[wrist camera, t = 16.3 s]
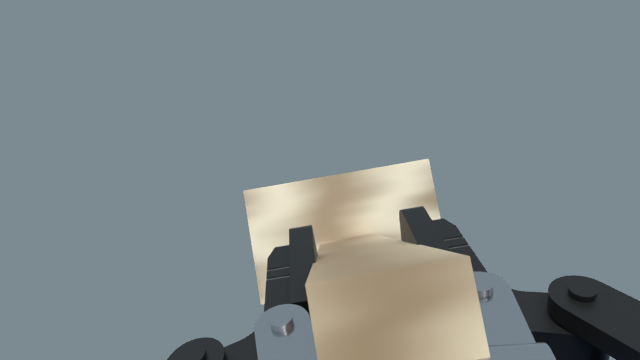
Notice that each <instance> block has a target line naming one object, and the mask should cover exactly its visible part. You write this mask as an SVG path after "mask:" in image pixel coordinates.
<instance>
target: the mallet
mask: <svg viewBox="0 0 640 360" xmlns="http://www.w3.org/2000/svg"><path fill="white" fill-rule="evenodd" d="M244 197H245V204H246V211H247V217H248V224H249V230H250V236H251V243H252V249H253V256H254V262H255V268H256V275H257V282H258V288H259V294H260V301H261V304H265V290H266V281H267V279H266V275H267V259H268V257H269V255H270V254H271V252H272V251H273V249H274V248H275V247H279V246H285V245H289V229H291V228H297V227H303V226H308V225H312V227H313V232H314V237H315V243H316V248H317V253H318V257H317V260H316V263H313V265H312V268H311V270H310V273H309V276H308V278H307V281H306V283H305V287H306V293H307V299H308V305H309V311H310V317H311V323H312V329H313V335H314V342H315V348H316V354H317V360H477V359H483V358H488V357H490V353H489V348H488V343H487V338H486V333H485V328H484V323H483V318H482V313H481V308H480V303H479V298H478V293H477V288H476V284H475V279H474V274H473V269H472V264H471V259H470V256H467V255H463V254H459V253H454V252H450V251H446V250H441V249H437V248H433V247H428V246H424V245H416V244H412V243H408V242H404V241H401V231H400V220H399V211H400V210H402V209H408V208H414V207H419V206H424V208H425V209H426V211H427V213H428V214H429V216H430V218H431V219H432V220H437V219H440V214H439V209H438V204H437V199H436V194H435V189H434V183H433V179H432V173H431V168H430V163H429V159H425V160H419V161H413V162H408V163H402V164H396V165H390V166H384V167H378V168H373V169H367V170H362V171H355V172H349V173H344V174H338V175H332V176H326V177H321V178H315V179H310V180H303V181H297V182H292V183H286V184H280V185H275V186H269V187H263V188H258V189H251V190H245V191H244Z"/></svg>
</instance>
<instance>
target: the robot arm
mask: <svg viewBox="0 0 640 360" xmlns="http://www.w3.org/2000/svg"><path fill="white" fill-rule="evenodd" d="M399 220H400V231H401V241H404V242H408V243H412V244H416V245H424V246H428V247H433V248H437V249H441V250H446V251H450V252H454V253H459V254H463V255H467V256H470V259H471V264H472V269H473V274H474V279H475V284H476V288H477V293H478V298H479V303H480V308H481V313H482V318H483V323H484V328H485V333H486V338H487V343H488V348H489V353H490V357H488V358H483V359H477V360H609V357H610V356H611V357H613V358H615V359H616V360H640V301H638V300H636V299H634V298H632V297H630V296H628V295H626V294H624V293H622V292H620V291H618V290H616V289H614V288H612V287H610V286H608V285H606V284H604V283H602V282H599V281H597V280H595V279H592V278H588V277H583V276H564V277H560V278H558V279H555V280H554V281H553V282H551V284H550V285H549V288H548V293H541V292H524V291H517V290H513V289H511V288H510V286H509V284H508V283H507V282H506V281H505V280H503V279H502V278H501V277H499V276H497V275H495V274H491V273H488V272H487V271H486V270H485V268H484V267H483V265H482V264H481V262H480V261H479V259H478V258H477V256H476V255H475V253H474V252H473V251H472V249H471V248H470V246H468V243H467V242H466V240H465V239H464V238H463V236H462V234H461V233H460V231H459V230H458V229H457V227H456V226H455V225H453V224H452V223H450V222H448V221H447V220H445V219H437V220H432V219H431V218H430V216H429V214H428V213H427V211H426V209H425V208H424V206H419V207H414V208H408V209H402V210H400V211H399ZM317 257H318V253H317V248H316V243H315V237H314V232H313V227H312V225H308V226H303V227H297V228H291V229H289V245H285V246H279V247H275V248H274V249H273V251H272V252H271V254H270V255H269V257H268V259H267V275H266V279H267V281H266V290H265V307H264V313H263V314H262V315H261V316H260V317H259V318H258V320H257V321H256V323H255V327H254V332H253V333H252V334H250V335H249V336H247V337H246V338H244V339H242V340H240V341H238V342H236V343H233V344H231V345H229V346H226V347H223V345H222V344H221V343H220V342H219V341H218V340H216V339H213V338H198V339H194V340H191V341H189V342H187V343H185V344H183V345H182V346H180V347H179V348H178V349H176V350H175V351H174V352H173V353H172V354H171V355H170V357H169V358H168V359H167V360H317V354H316V348H315V342H314V335H313V329H312V323H311V317H310V311H309V305H308V299H307V293H306V287H305V283H306V281H307V278H308V276H309V273H310V270H311V268H312V265H313V263H316V260H317Z"/></svg>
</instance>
